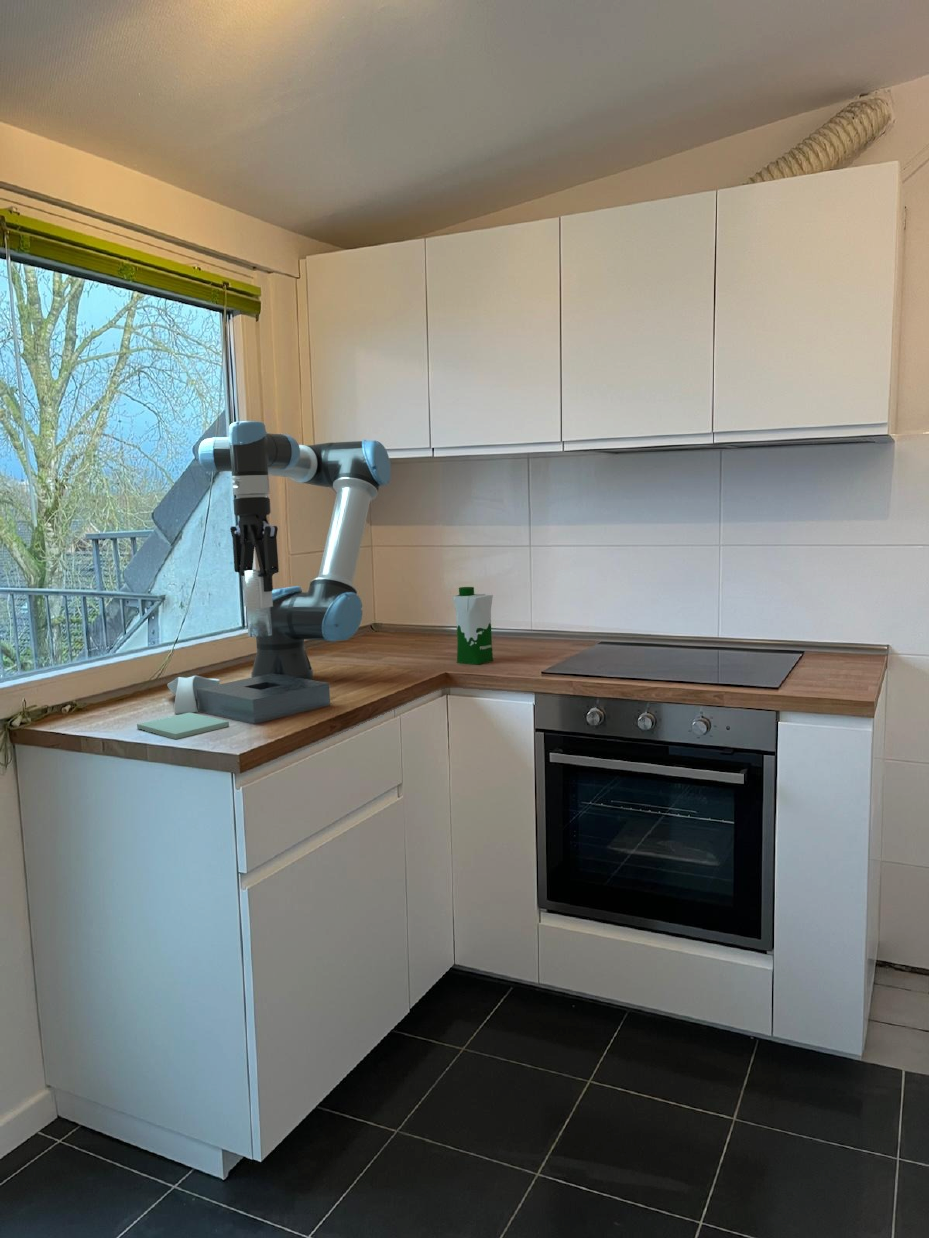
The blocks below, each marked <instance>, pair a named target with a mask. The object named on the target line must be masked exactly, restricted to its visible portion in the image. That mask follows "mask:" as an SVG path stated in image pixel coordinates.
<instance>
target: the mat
mask: <svg viewBox="0 0 929 1238" xmlns="http://www.w3.org/2000/svg"><path fill="white" fill-rule="evenodd" d="M229 722H230V721H228V720H224V719H220V718H216V717H212V716H208V715H203V714H197V713H195V712H194V713H190V712H189V713H183V714H176V715H171V716H167V717H162V718H158V719H155V720H154V719H153V720H149V721H144V722H140V723H137V724H136V728H137V730H139V729H142V730H141V731H143V730H145V731H144V732H148V733H151V732H153V733H152V734H154V733H156V734H155V735H158V736H163V737H167V738H169V739H174V740H178V739H182V738H187V737H191V736H195V735H199V734H203V733H208V732H211V731H215V730H218V729H223V728H226V727H230V723H229Z"/></svg>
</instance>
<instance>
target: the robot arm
mask: <svg viewBox="0 0 929 1238" xmlns="http://www.w3.org/2000/svg"><path fill="white" fill-rule="evenodd" d="M228 431H229V432H228V436H219V437H218V436H214V437H210V438H205V439H204V440H202V441H201V442H200V444H199V447H198V459H199V460H198V461H199V463H200V465H201V466H202V468H203V469H204V470H205V471H208V472H217V473H221V472H231V476H232V478H231V479H232V480H231V481H232V495H233V496H236V497H235V498H234V499H233V500H232V503H233V514H234V515H235V516H236V517H238V518H239V519H238V524H237V525H236V526H235V525H234V526H230V534H231V538H232V551H233V567H234V568H233V569H234V572H235V573H239V575H240V576H241V583H242V585H241V586H242V587H241V588H242V591H243V603H244V604H243V605H244V607H246V592H245V577H244V571H245V570H253V567H254V559H255V558H254V556H255V555H256V558H257V563H258V569H260V573H261V574H259V575H258V576H259V577H258V580H259V596H260V608H265V607H271V623H272V635H270V636H265V637H255V639H256V641H255V642H256V654H255V658H254V662H253V666H252V667H253V668H252V671H251V677H250V678H253V677H258V676H263V675H268V674H278V675H284V676H290V677H297V678H303V679H309V680H314V670H313V667H312V665H311V663H310V660H309V657H308V654H307V651H306V648H305V641H306V640H307V641H328V642H337V641H347V640H349V639H350V638H352V637H353V636H354V635H355V634H357V631H358V630H359V628H360V625H361V623H362V622H361V621H362V617H363V609H362V608H363V602H362V600H361V597H360V596H359V595H358V590H357V588H356V587H355V586H354V579H355V575H356V569H357V564H358V560H359V554H360V550H361V545H362V541H363V538H364V537H363V536H364V531H365V526H366V522H367V517H368V513H369V508H370V504H371V501H373V500H375V499H376V498H377V497H378V494H379V489H380V487H384V486H387V485H388V484H389V483H390V480H391V477H392V468H391V467H392V466H391V461H390V456H389V454H388V452H387V449H386V448H385V446H384V445H383V444H382V443H381V442H380V441H378V440H366V439H363V440H355V441H338V442H337V441H336V442H324V443H318V444H311V445H310V444H308V445H306V444H299V442H298V441H297V440H296V439H295V438H294V437H292V436H291V435H287V434H284V433H267V429H266V425H265V423H264V422H262V421H259V420H258V421H256V420H243V421H241V420H240V421H234V422H232V423H231V424H229V427H228ZM269 476H272V477H274V476H275V477H281V478H289V479H290V480H292V481H293V482H295V483H299V484H300V483H301V484H307V485H313V486H318V487H323V488H333V490H334V492H335V493H336V496H335V500H334V501H335V502H334V505H333V509H332V513H331V514H332V515H331V519H330V523H329V528H328V532H327V536H326V539H325V544H324V545H325V546H324V550H323V553H322V558H321V563H320V567H319V572H318V575H317V577H315V578H313V579H311V581H310V582H309V583H310V584H309V587H308V591H304V592H303V590H302V587H301V586H299V585H296V586H295V585H294V586H288V587H282V588H281V587H280V588H275V589H274V588H273V576H274V575H275V574H278V573H279V570H280V569H279V554H278V540H277V536H278V526H277V525H271V524H269V520H268V517H267V516H268V515H270V514H271V511H272V510H271V498H270V497H269V496H268V495H269V494H270V493H271V491H270V490H271V489H270V477H269ZM265 569H266V570H265Z"/></svg>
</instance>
